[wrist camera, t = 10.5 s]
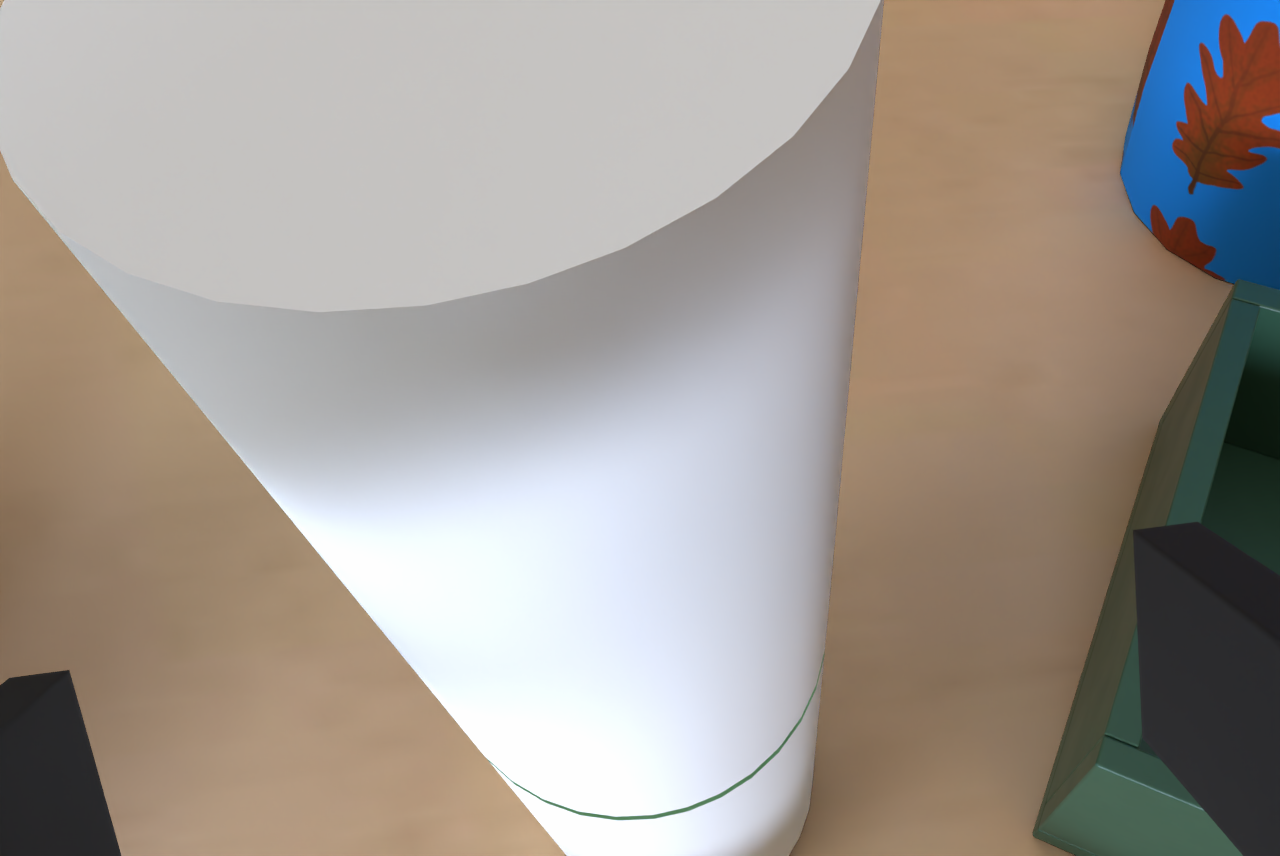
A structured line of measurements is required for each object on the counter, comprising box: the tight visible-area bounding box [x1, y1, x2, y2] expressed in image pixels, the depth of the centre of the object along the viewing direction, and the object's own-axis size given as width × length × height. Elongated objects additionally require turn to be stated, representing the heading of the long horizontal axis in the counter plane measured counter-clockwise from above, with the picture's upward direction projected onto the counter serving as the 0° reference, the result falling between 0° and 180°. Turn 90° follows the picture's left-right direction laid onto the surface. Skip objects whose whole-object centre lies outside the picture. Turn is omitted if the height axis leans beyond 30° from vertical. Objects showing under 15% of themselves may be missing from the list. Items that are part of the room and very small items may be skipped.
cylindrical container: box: [0, 0, 884, 856], centre depth 20 cm, size 7×7×25 cm
